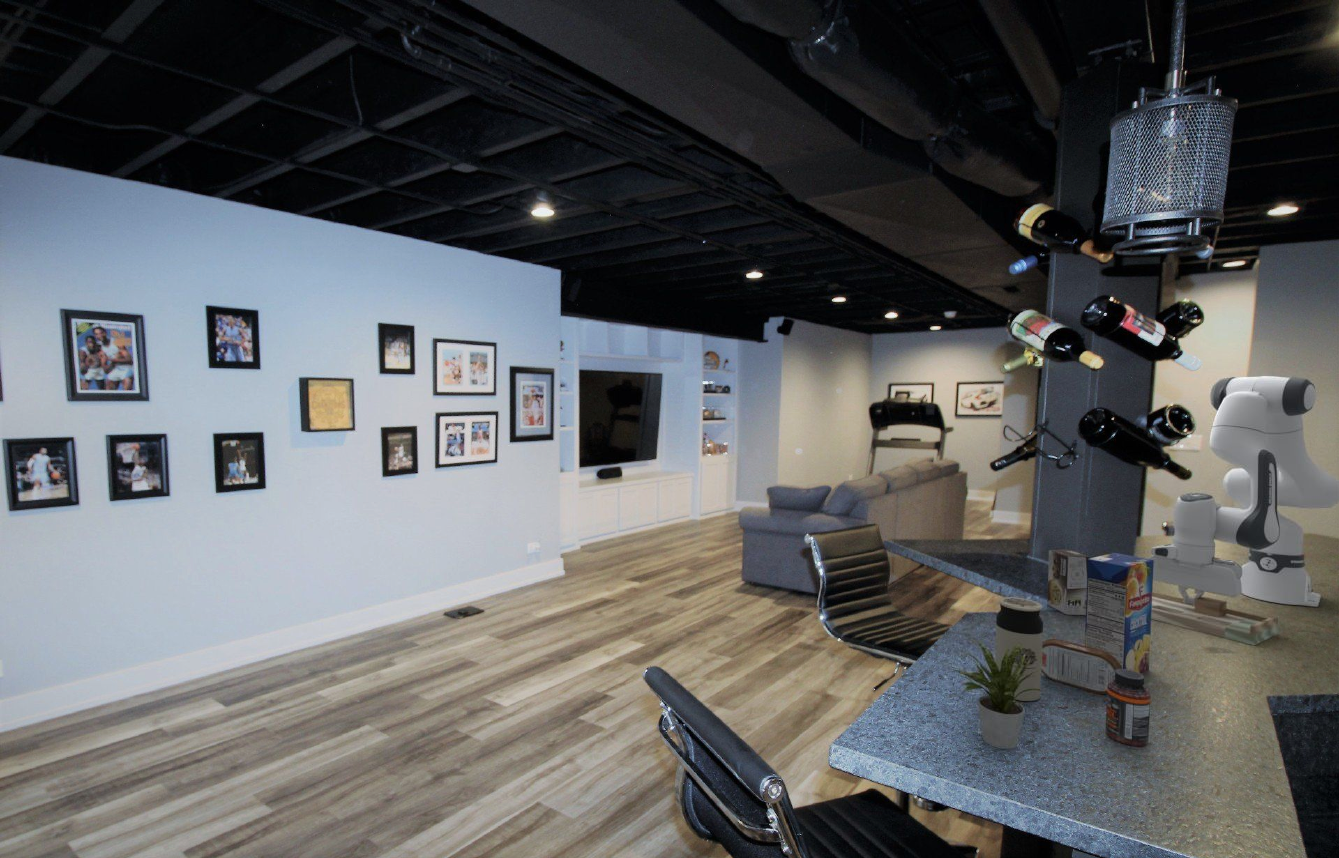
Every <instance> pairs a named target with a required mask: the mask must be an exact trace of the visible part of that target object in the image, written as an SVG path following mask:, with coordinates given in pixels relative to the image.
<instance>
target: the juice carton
mask: <svg viewBox="0 0 1339 858" xmlns="http://www.w3.org/2000/svg"><path fill="white" fill-rule="evenodd" d="M1153 566H1154V560H1151V559H1149V558H1145V557H1139V556H1134V555H1130V554H1129V555H1128V554H1123V553H1117V552H1111V553H1108V554H1107V553H1106V554H1103V555H1099V556H1096V557H1095V556H1094V557H1091V558H1090V559H1088V573H1087V598H1086V615H1085V623H1084V624H1085V629H1084V646H1088V647H1092V648H1096V649H1100V650H1103V651H1105V652H1107V653H1109V654H1111V655H1112V656H1113V657H1115V658H1116V659H1117V660H1118V662H1119V663H1120V665H1121V666H1122V669H1128V670H1132V671H1135V672H1138V673H1140V674H1142V675H1143V674H1145V673H1146V672H1149V671H1150V655H1151V653H1150V652H1151V651H1150V650H1151V633H1152V631H1151V630H1152V629H1151V628H1152V619H1151V612H1152V592H1153V587H1154V586H1153V585H1154V584H1153V582H1154V581H1153Z"/></svg>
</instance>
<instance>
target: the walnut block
mask: <svg viewBox="0 0 1339 858" xmlns="http://www.w3.org/2000/svg"><path fill="white" fill-rule="evenodd" d="M1227 604H1228V603H1227V601H1226V600H1221V599H1216V598H1212V597H1207V596H1205V595H1203V596H1202V597H1200V598H1197V599H1195V608H1194V612H1196V613H1200V614H1204V615H1209V616H1213V617H1217V618H1219V617H1221V616H1224V615H1226V608H1227V607H1228V606H1227Z"/></svg>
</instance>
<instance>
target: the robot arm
mask: <svg viewBox="0 0 1339 858" xmlns="http://www.w3.org/2000/svg"><path fill="white" fill-rule="evenodd" d="M1209 397H1210V399H1209V400H1210V403H1211V405H1212V407H1213V408H1214V409H1215V410H1216V411H1217V412H1216V415H1215V417H1214V419H1213V423H1212V427H1211V430H1210V437H1209V447H1210V449H1211V451H1212V452H1213V453H1214V455H1216V456H1217V457H1218V458H1220V459H1222V460H1223V461H1225V462H1227V463H1228V464H1229V463H1230V464H1232V465H1234V466H1236V467H1237V468H1232V469H1230V470H1229V471H1228V472H1227V473H1226V474H1225V475H1224V476H1223V479H1222V488H1223V490H1224V492H1225V494H1226V495H1227V496H1228V497H1229V498H1230V499H1231V500H1233V501H1235V502H1236V503H1237V504H1238V505H1239V506H1240V507H1241V508H1240V507H1239V508H1237V507H1231V506H1225V505H1221V504H1219V503H1218V502H1216V501H1215V498H1214V496H1213V495H1210V494H1207V493H1200V492H1195V493H1194V492H1193V493H1192V492H1188V493H1185V494H1182V495H1181V494H1180V495H1179V496H1178V498H1177V499H1176V502H1175V506H1174V512H1173V520H1172V521H1173V522H1172V523H1173V524H1172V526H1173V529H1174V533H1173V534H1174V535H1173V536H1172V542H1171V543H1172V544H1164V545H1157V546H1154V547H1152V548H1151V549H1150V554H1151V556H1150V557H1148V559H1151V560H1154V566H1153V582H1154V581H1155V582H1158V583H1164V584H1168V585H1172V586H1176V587H1177V589H1178V592H1179V594H1180V595H1181V596H1182V597H1181V598H1183V603H1184V604H1189V605H1193V606H1195V599H1197V598H1200V597H1203V596H1205V593H1209V594H1216V595H1219V596H1223V597H1229V598H1237V597H1239V596H1240V595H1245V596H1247V597H1249V598H1252V599H1256V600H1260V601H1266V602H1270V603H1277V604H1283V605H1293V606H1305V607H1319V604H1320V601H1321V593H1318V592H1313V591H1314V589H1313V588H1311V587H1312V586H1311V585H1312V582H1311V581H1312V578H1311V576H1310V575H1309V572H1308V571H1307V570H1306V569H1305V566H1306V564H1305V562H1306V553H1303V547H1304V530H1303V528H1302V526H1301V525H1300V524H1299V523H1297V522H1296V521H1294V520H1293V519H1291V518H1288V517H1286V516H1284V515H1282V514H1281V513H1280V512H1279V511H1278V506H1279V507H1288V508H1289V507H1291V508H1298V509H1307V510H1309V509H1330V508H1332V507H1334V506H1335V505H1337V504H1338V503H1339V480H1338V478H1336V477H1335V476H1334V475H1333V474H1330V473H1328V472H1327V471H1325V470H1324V469H1322V468H1321V467H1319V466H1318V465H1317V464H1316V463H1315V462H1314V461H1313V459H1312V458H1311V457H1310V455H1309V453H1308V452H1307V449H1306V448H1307V447H1306V443H1305V435H1304V419H1303V415H1305V414H1306V413H1309V412H1310V411H1311V410H1312V409H1313V407H1314V404H1315V402H1316V399H1317V392H1316V387H1315V385H1314V383H1313V382H1311V381H1310V380H1309V379H1307V378H1304V377H1297V376H1295V377H1294V376H1292V377H1287V376H1272V375H1261V376H1244V377H1234V376H1232V377H1231V376H1230V377H1225V378H1220V379H1219V380H1218V381H1216V382H1215V383H1214V384H1213V385H1212V387H1211V390H1210V395H1209ZM1215 541H1218V542H1221V543H1228V544H1233V545H1236V546H1237V545H1238V546H1241V547H1244V548H1249V549H1248V562H1246V563H1244V564H1243V565H1242V566H1241V565H1240V564H1239V563H1238V562H1236V561H1235V560H1227V559H1223V558H1219V557H1215V555H1216V554H1215V553H1216V542H1215ZM1189 589H1192V590H1194V594H1196V595H1195V596H1194V597H1192V596H1189V594H1188V590H1189Z"/></svg>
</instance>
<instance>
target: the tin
mask: <svg viewBox="0 0 1339 858" xmlns="http://www.w3.org/2000/svg"><path fill="white" fill-rule="evenodd" d="M1117 669H1122V666H1121V665H1120V663H1119V662H1118V660H1117V659H1116V658H1115V657H1113V656H1112V655H1111V654H1109V653H1107V652H1105V651H1103V650H1100V649H1096V648H1092V647H1088V646H1085V644H1084V645H1083V644H1079V643H1075V642H1071V641H1068V640H1064V639H1060V638H1049V639H1046V640H1044V641H1042V667H1041V674H1042V675H1044V676H1045V677H1047V678H1048V679H1050V680H1052V681H1054V682H1057V683H1061V684H1064V685H1068V686H1071V687H1074V688H1078V689H1081V690H1084V691H1087V692H1088V691H1089V692H1092V693H1094V694H1099V695H1107V687H1108V683H1109V682H1110V681H1112V680H1114V679H1115V677H1114V676H1115V670H1117Z"/></svg>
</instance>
